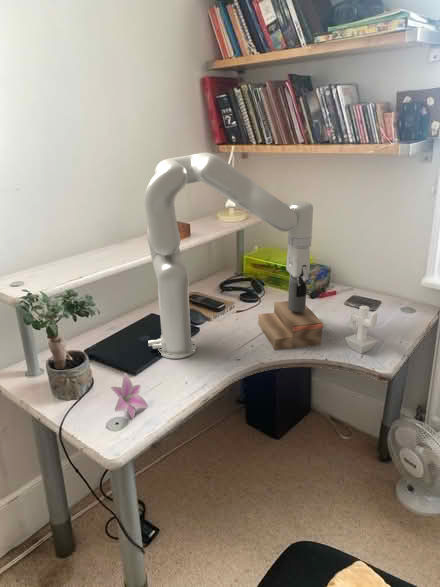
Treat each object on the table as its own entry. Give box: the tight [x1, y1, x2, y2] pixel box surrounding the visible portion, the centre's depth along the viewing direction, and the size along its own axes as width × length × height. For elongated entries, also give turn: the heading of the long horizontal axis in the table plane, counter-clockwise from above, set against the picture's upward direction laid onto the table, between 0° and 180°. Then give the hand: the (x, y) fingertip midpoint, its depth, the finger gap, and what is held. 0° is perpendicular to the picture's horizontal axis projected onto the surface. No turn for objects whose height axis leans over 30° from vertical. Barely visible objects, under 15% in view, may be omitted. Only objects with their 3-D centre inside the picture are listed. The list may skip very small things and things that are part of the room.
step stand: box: [257, 300, 324, 351], centre depth 158 cm, size 16×21×8 cm
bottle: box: [287, 273, 308, 312], centre depth 154 cm, size 6×6×15 cm
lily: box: [110, 372, 149, 420], centre depth 120 cm, size 11×11×9 cm
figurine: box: [344, 305, 379, 355], centre depth 145 cm, size 7×9×15 cm
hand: (297, 292), depth 154 cm, fingers closed on bottle, 5 cm apart
